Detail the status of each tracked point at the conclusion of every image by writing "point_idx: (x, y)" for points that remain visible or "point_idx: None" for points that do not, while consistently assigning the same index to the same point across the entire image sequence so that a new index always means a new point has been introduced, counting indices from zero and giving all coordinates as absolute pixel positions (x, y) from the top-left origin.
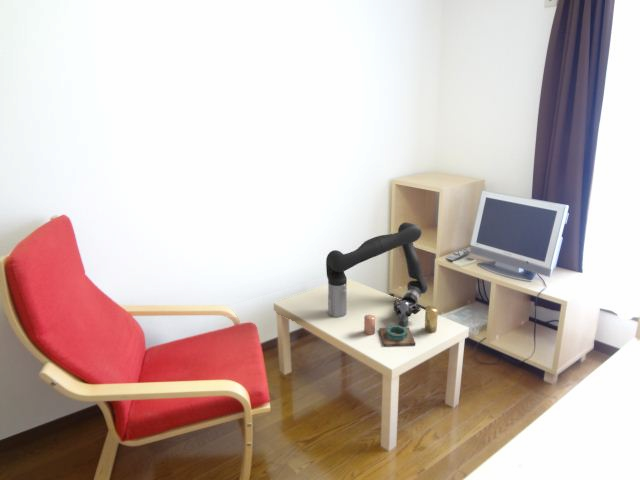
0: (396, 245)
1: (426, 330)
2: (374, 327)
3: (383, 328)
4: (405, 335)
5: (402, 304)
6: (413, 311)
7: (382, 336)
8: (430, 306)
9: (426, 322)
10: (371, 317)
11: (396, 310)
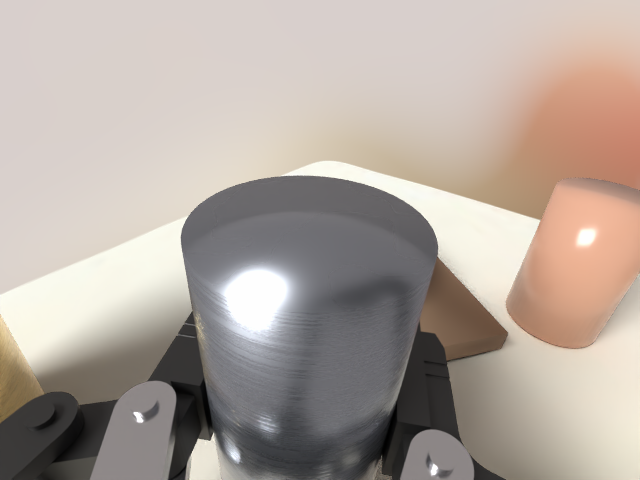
0: None
1: (44, 393)
2: (524, 264)
3: (471, 334)
4: None
5: (344, 188)
6: (105, 414)
7: None
8: None
9: (8, 330)
10: (594, 195)
11: (438, 356)
